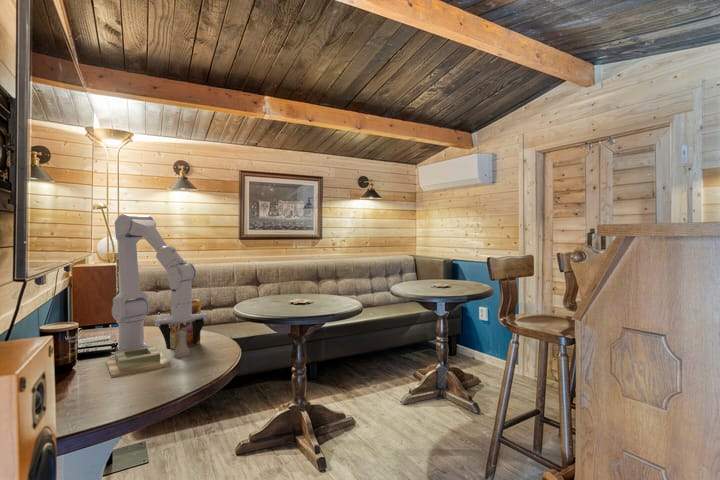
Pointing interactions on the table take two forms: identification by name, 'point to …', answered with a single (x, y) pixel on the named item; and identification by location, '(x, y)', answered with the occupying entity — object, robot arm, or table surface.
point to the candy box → (185, 327)
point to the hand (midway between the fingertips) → (181, 346)
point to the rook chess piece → (181, 345)
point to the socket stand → (136, 361)
